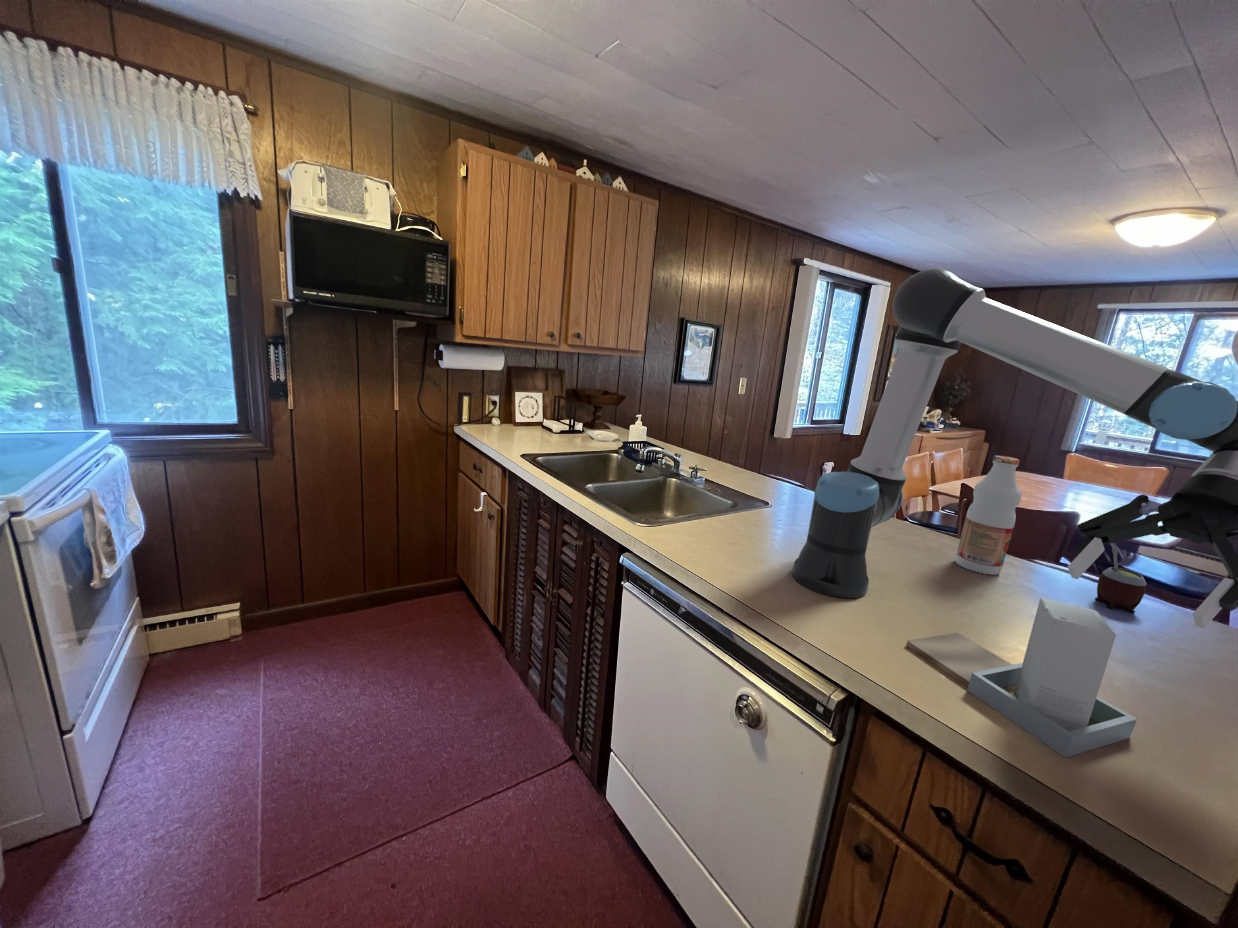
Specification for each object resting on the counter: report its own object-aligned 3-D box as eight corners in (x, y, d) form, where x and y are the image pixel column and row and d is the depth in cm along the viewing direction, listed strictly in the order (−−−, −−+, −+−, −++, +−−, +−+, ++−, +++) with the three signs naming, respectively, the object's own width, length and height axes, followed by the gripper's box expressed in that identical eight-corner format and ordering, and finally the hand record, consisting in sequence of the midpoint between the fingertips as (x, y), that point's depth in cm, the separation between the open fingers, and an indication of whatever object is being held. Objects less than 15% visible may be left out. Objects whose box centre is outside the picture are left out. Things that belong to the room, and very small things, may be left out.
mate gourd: (1141, 610, 104) (1165, 545, 101) (1130, 618, 100) (1154, 551, 97) (1095, 594, 110) (1116, 532, 107) (1083, 601, 106) (1104, 537, 103)
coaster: (906, 645, 83) (907, 640, 83) (956, 637, 87) (957, 632, 87) (969, 688, 73) (971, 682, 72) (1022, 677, 77) (1024, 671, 76)
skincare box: (1083, 742, 64) (1121, 637, 60) (1019, 719, 67) (1052, 618, 63) (1067, 706, 71) (1100, 610, 67) (1010, 687, 74) (1039, 594, 70)
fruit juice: (946, 557, 125) (973, 451, 119) (985, 561, 125) (1014, 455, 118) (968, 573, 116) (998, 459, 110) (1009, 578, 115) (1042, 464, 109)
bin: (966, 690, 72) (972, 672, 72) (1027, 677, 77) (1032, 660, 76) (1065, 757, 61) (1072, 737, 60) (1130, 737, 65) (1137, 718, 65)
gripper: (1377, 540, 60) (1269, 663, 58) (1120, 483, 82) (1037, 571, 81) (1378, 500, 57) (1264, 629, 55) (1110, 453, 79) (1025, 543, 78)
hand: (1129, 595), depth 68 cm, fingers open, 13 cm apart
